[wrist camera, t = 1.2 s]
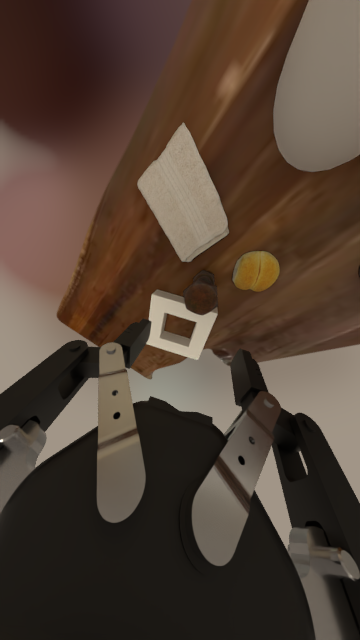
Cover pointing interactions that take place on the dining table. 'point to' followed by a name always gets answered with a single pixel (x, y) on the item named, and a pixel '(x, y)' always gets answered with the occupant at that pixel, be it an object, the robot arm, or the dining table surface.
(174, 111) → the dining table surface
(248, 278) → the bread roll
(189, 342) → the collar block
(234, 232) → the dining table surface
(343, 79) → the cylinder
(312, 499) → the robot arm
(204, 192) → the washcloth
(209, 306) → the bolt
